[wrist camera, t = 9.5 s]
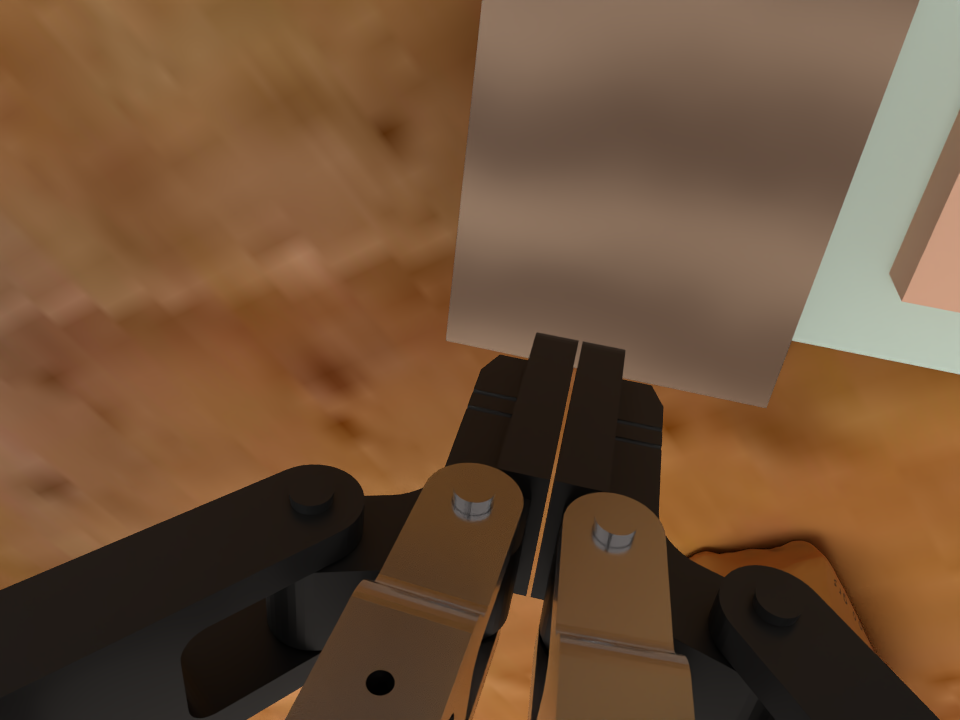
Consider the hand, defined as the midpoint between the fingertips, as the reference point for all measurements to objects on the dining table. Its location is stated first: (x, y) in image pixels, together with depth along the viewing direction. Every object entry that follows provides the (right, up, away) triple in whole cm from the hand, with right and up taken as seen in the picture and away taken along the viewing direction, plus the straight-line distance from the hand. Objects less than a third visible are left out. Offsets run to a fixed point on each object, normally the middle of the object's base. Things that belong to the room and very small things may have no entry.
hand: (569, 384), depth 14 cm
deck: (+5, +9, +15) cm, 19 cm away
